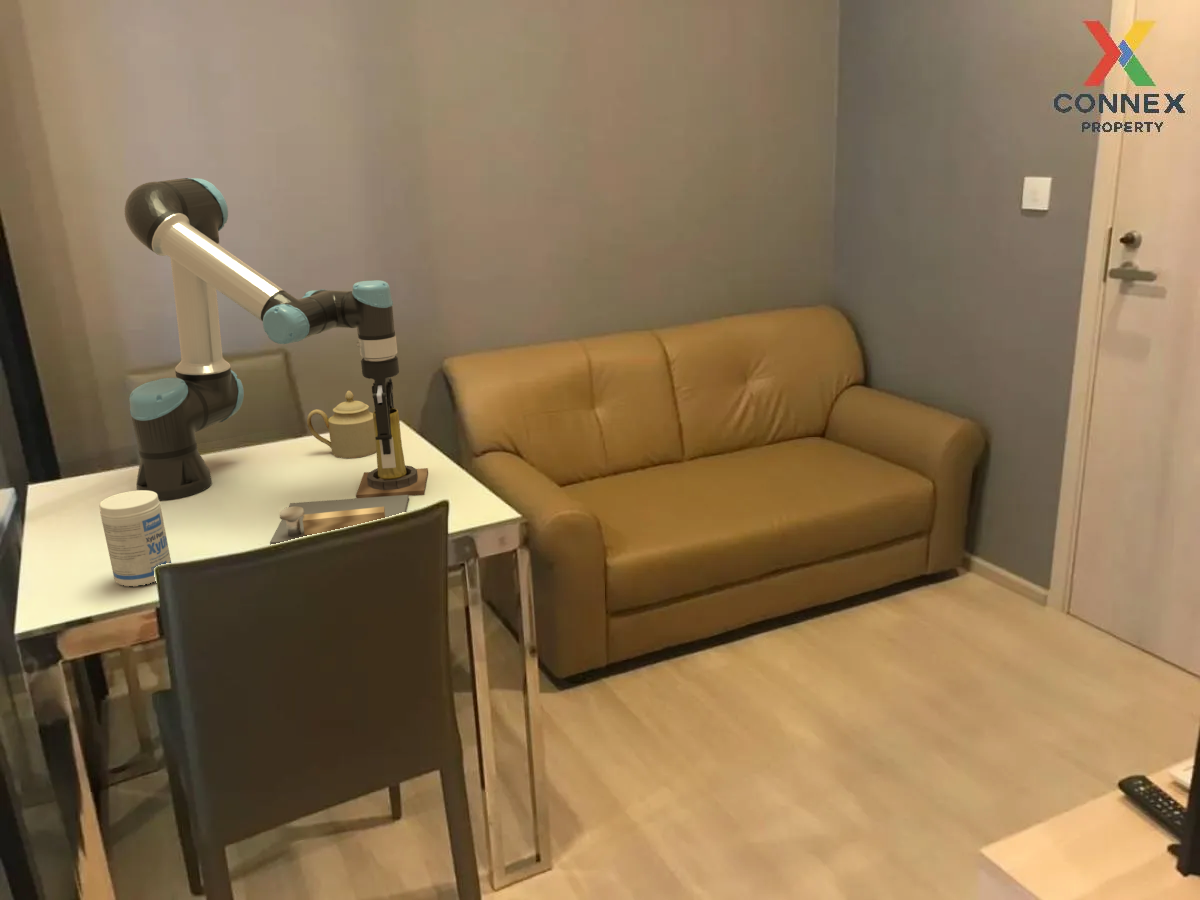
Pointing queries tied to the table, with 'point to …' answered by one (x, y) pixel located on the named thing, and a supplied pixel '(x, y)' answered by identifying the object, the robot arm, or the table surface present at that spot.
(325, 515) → the folding leg
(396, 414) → the vase
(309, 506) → the board
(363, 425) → the sugar bowl
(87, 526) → the table surface
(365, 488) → the socket block
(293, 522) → the pivot post
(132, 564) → the supplement tub
